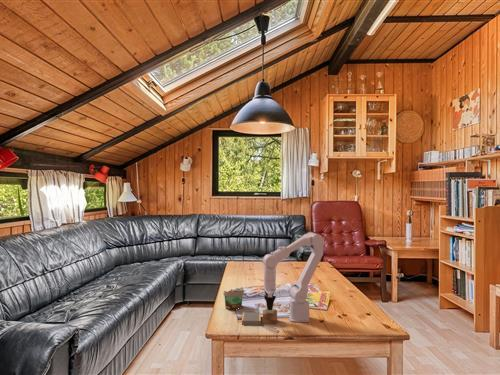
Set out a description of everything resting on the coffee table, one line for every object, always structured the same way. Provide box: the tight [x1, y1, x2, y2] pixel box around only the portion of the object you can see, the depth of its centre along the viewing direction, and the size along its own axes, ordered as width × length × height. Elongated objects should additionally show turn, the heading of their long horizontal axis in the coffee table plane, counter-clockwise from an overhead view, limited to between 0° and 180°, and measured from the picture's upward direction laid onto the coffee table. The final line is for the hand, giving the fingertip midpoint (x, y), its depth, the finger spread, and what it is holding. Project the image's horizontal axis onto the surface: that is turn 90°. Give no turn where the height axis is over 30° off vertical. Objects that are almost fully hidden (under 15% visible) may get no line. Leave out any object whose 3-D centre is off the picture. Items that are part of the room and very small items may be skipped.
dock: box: [241, 311, 262, 326], centre depth 161 cm, size 9×10×2 cm
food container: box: [223, 286, 245, 311], centre depth 176 cm, size 12×6×10 cm, turn 126°
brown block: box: [262, 309, 278, 325], centre depth 160 cm, size 7×5×5 cm
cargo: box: [265, 306, 275, 313], centre depth 160 cm, size 4×4×2 cm
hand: (269, 306), depth 160 cm, fingers open, 7 cm apart
